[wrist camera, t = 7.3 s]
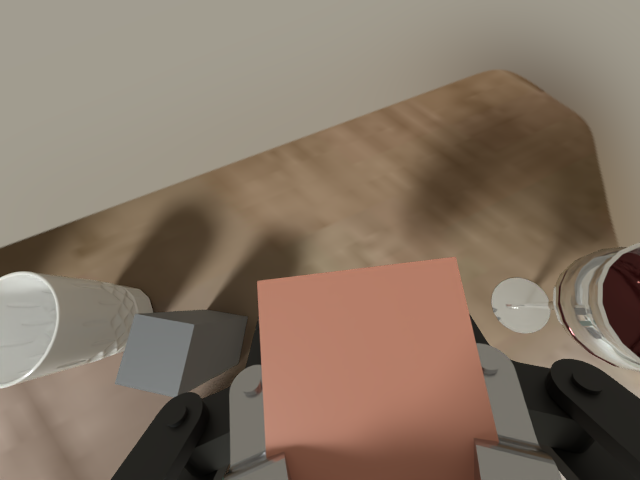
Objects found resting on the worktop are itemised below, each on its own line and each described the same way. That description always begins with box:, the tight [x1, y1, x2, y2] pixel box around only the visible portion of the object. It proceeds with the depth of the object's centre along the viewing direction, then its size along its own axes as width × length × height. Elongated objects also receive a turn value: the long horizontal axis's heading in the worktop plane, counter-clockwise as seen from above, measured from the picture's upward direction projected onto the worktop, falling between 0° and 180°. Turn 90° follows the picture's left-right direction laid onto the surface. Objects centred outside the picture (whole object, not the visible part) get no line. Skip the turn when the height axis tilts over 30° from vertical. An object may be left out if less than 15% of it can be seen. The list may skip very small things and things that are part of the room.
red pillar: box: [257, 257, 499, 480], centre depth 10 cm, size 4×4×10 cm
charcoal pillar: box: [115, 310, 248, 397], centre depth 22 cm, size 4×4×10 cm
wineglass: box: [492, 243, 640, 372], centre depth 19 cm, size 7×7×12 cm
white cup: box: [0, 271, 153, 388], centre depth 24 cm, size 8×8×10 cm
